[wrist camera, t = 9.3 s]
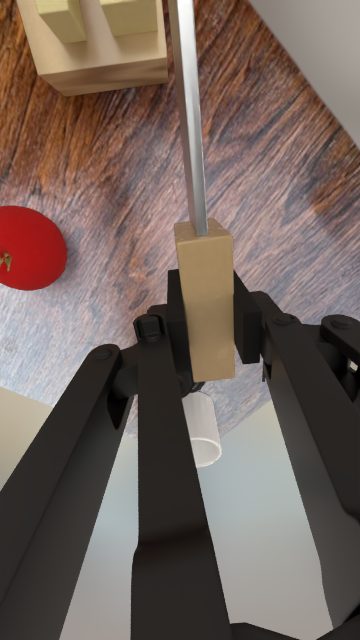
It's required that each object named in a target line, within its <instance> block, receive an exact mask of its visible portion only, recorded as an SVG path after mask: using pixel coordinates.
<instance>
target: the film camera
mask: <svg viewBox="0 0 360 640" xmlns="http://www.w3.org/2000/svg"><path fill="white" fill-rule="evenodd" d="M190 358H191V357H190ZM191 367H192V364H191ZM176 374H177V379H178V383H179V388H180V393H181V398H184V397H186V396H187V395H188V394H189V393H194V392H196V391H198V390H200V389H201V388H202V386H203V385H204V384H205V381H203V382H194V379H193V372H192V371H185V372H177V373H176Z"/></svg>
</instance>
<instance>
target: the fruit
mask: <svg viewBox="0 0 360 640" xmlns="http://www.w3.org/2000/svg"><path fill="white" fill-rule="evenodd" d="M66 261H67V248H66V244H65V241H64V238H63V236H62V234H61V232H60V230H59V228H58V227H57V226H56V225H55V224H54V223H53V222H52V221H51V220H50V219H48V218H47V217H45V216H44V215H43V214H41V213H39V212H37V211H35V210H33V209H30V208H25V207H20V206H2V207H0V283H2V284H4V285H6V286H8V287H11V288H14V289H18V290H25V291H29V290H37V289H42V288H44V287H47V286H49V285H51V284H52V283H53V282H55V281H56V280H57V279H58V278H59V277H60V276H61V274H62V273H63V271H64V269H65V266H66Z"/></svg>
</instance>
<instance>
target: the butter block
mask: <svg viewBox="0 0 360 640" xmlns="http://www.w3.org/2000/svg"><path fill="white" fill-rule="evenodd" d="M100 5H101V7H102V10H103V12H104V15H105V17H106V20H107V22H108V25H109V27H110V30H111V32H112V35H113V36H114V37H115V36H122V35H129V34H136V33H143V32H150V31H157V30H158V22H157V9H156V0H100Z"/></svg>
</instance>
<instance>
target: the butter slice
mask: <svg viewBox="0 0 360 640" xmlns="http://www.w3.org/2000/svg"><path fill="white" fill-rule="evenodd" d="M35 4H36V8H37V12H38V14H39V16H40V17H41V18H42V19H43V21H44V22H45V23H46V24H47V26H48V27H49V28H50V29H51V31H52V32H53V33H54V34H55V36H56V37H57V38H58V39H59V41H60V42H61V43H62V44H66V43H73V42H80V41H86V40H87V37H86V33H85V28H84V23H83V18H82V13H81V9H80V4H79V0H35Z"/></svg>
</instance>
